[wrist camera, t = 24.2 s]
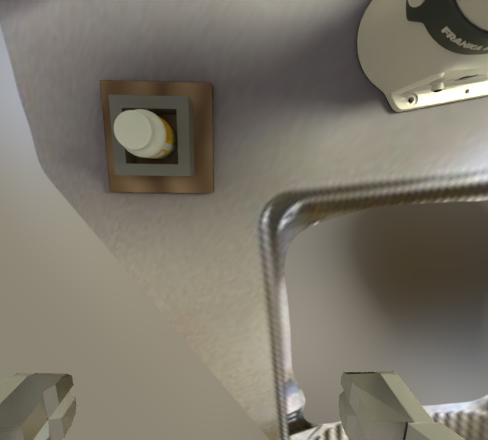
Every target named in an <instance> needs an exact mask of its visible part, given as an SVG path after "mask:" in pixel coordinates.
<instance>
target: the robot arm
mask: <svg viewBox="0 0 488 440" xmlns="http://www.w3.org/2000/svg"><path fill="white" fill-rule="evenodd" d="M357 49H358V56H359V60H360V64H361V66H362V69H363V71H364V73H365V74H366V76H367V77H368V79H369V80H370V81H371V82H372V83H373V84H374V85H375V86H376V87H378V88H379V89H380V90H381V91H382V92H383V93H384V94H385V95H386V98H387V100H388V102H389V104H390V106H391V107H392V109H393V110H394V111H396V112H403V111H409V110H414V109H420V108H425V107H430V106H436V105H441V104H447V103H452V102H457V101H463V100H468V99H474V98H479V97H484V96H488V0H372V1H371V3H370V4H369V6H368V7H367V9H366V11H365V13H364V15H363V17H362V20H361V23H360V26H359V31H358V38H357ZM408 99H410V100H411V103H409V102H408ZM73 385H74V384H73V379H72V376H71V375H69V374H53V373H34V374H31V373H16V374H14V375H12V376H10V377H9V378H7V379H6V380H5V381H4V382H3V383H2V384H1V385H0V440H61V439H62V438H64V437H65V435H66V433H67V432H68V430H69V428H70V427H71V425H72V422H73V419H74V416H75V414H76V398H75V396H74V395H72V393H71V392H70V389H71V388H72V387H73ZM341 385H342V387H343V389H344V391H343V392H342V393H341V394H340V395H339V412H340V418H341V422H342V426H343V428H344V431H345V433H346V435H347V436H348V437H349V438H351V439H352V440H465V439H464V438H462V437H461V436H459V435H458V434H456V433H455V432H453V431H452V430H450V429H449V428H447V427H446V426H444V425H443V424H441V423H435V422H433V420H432V419H431V418H430V416H429V415H428V414H427V412H426V411H425V410H424V409H423V407H422V406H421V405H420V403H419V402H418V401H417V399H416V398H415V397H414V396H413V394H412V393H411V392H410V390H409V389H408V388H407V386H406V385H405V384H404V383H403V381H402V380H401V379H400V377H399V376H398V375H397V374H396V373H394V372H393V371H381V372H344V373H343V374H342V376H341Z"/></svg>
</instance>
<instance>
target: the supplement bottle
mask: <svg viewBox="0 0 488 440" xmlns="http://www.w3.org/2000/svg"><path fill="white" fill-rule="evenodd" d="M114 134H115V137H116V139H117V140H118V142H119V143H120V144H121V145H122V146H124V147H125V149H126V150H127V151H129V152H130V153H131V154H133V155H135V156H138V157H144V158H153V159H164V158H167V157H169V156H171V155H172V154H173V153H174V151H175V150H176V148H177V144H178V139H177V134H176V131H175V129H174V128H173V127H172V125H171V124H169V123H168V122H167V121H165V120H164V119H162V118H160V117H159V116H157V115H156V114H154V113H153V112H151V111H148V110H144V109H136V110H127V111H124V112H122V113H121V114H119V115H118V116H117V118H116V120H115V122H114Z"/></svg>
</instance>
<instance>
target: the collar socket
mask: <svg viewBox="0 0 488 440" xmlns="http://www.w3.org/2000/svg"><path fill="white" fill-rule="evenodd" d="M100 87H101V98H102V109H103V120H104V130H105V141H106V152H107V163H108V174H109V184H110V192H160V193H213V192H214V170H213V85H212V83H198V82H156V81H113V80H100ZM136 109H144V110H148V111H151V112H153V113H154V114H156V115H157V116H159V117H160V118H162V119H164V120H165V121H167V122H168V123H169V124H171V125H172V127H173V128H174V129H175V131H176V134H177V139H178V144H177V148H176V150H175V151H174V153H173V154H172V155H171V156H169V157H167V158H164V159H153V158H144V157H138V156H135V155H133V154H131V153H130V152H129V151H127V150H126V149H125V147H124V146H122V145H121V144H120V143H119V142H118V140H117V139H116V137H115V134H114V122H115V120H116V118H117V116H118V115H119V114H121V113H122V112H124V111H127V110H136Z"/></svg>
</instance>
